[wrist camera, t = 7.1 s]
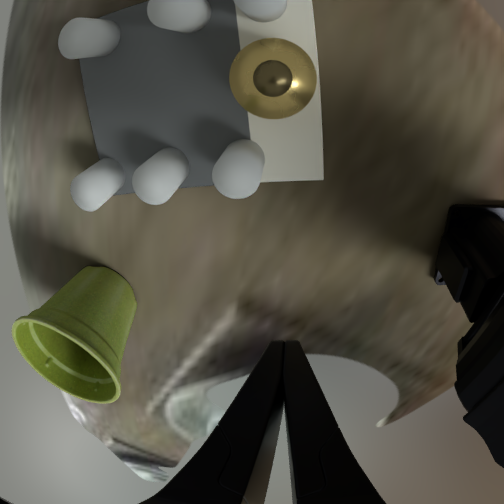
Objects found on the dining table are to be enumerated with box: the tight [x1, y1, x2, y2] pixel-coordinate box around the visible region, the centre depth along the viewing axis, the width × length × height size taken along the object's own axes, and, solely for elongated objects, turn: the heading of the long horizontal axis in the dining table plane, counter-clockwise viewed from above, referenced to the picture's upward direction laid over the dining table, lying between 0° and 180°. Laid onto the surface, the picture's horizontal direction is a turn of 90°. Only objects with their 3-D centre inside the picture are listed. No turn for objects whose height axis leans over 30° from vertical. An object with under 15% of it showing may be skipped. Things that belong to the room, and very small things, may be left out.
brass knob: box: [229, 38, 317, 119], centre depth 14 cm, size 4×4×3 cm
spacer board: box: [58, 0, 324, 211], centre depth 15 cm, size 15×12×4 cm
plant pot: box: [12, 266, 137, 404], centre depth 23 cm, size 9×9×9 cm
